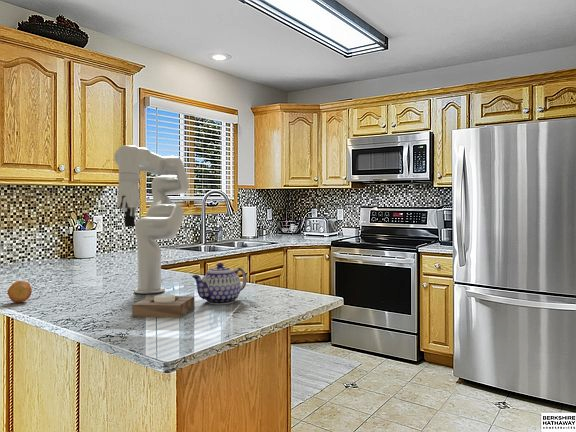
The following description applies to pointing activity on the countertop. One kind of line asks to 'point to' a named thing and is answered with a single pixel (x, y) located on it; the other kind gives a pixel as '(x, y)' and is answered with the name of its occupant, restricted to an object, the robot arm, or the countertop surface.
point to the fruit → (19, 291)
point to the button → (164, 298)
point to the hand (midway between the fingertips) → (129, 226)
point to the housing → (163, 307)
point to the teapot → (220, 285)
